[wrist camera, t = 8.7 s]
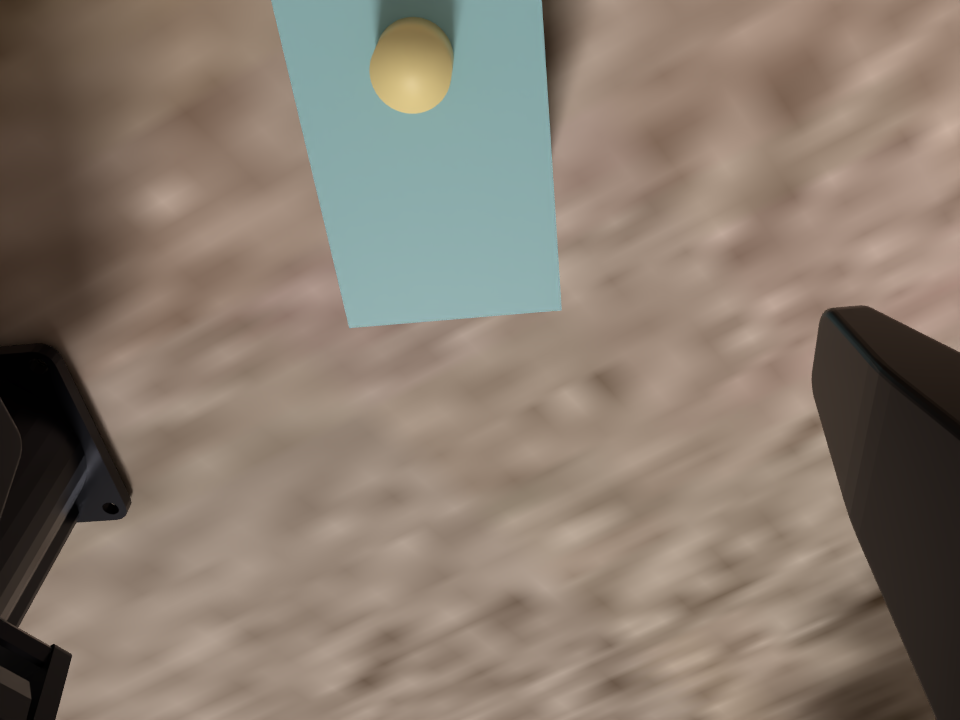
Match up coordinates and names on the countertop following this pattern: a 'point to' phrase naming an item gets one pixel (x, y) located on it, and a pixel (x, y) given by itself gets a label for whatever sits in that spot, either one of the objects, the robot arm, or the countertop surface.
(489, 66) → the teal box with knob
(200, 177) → the countertop surface
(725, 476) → the countertop surface
